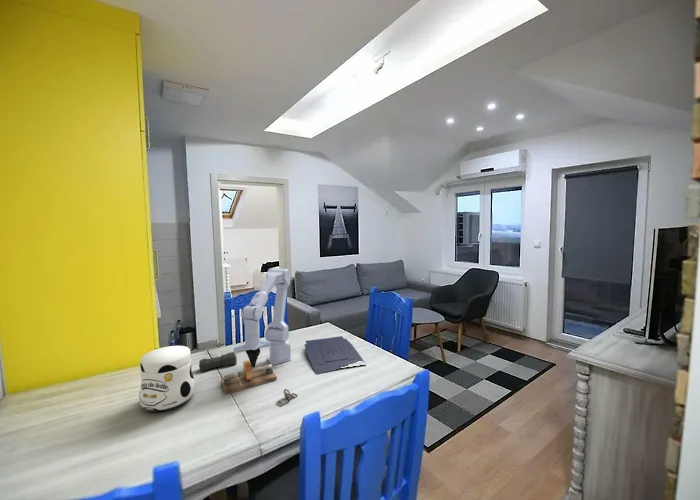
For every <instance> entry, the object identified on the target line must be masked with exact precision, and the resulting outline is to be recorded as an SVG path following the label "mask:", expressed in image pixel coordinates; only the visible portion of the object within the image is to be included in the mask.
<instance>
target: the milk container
mask: <svg viewBox="0 0 700 500" xmlns="http://www.w3.org/2000/svg"><path fill="white" fill-rule="evenodd" d="M139 363H140V364H139V365H140V380H141V382H140V388H139V391H138V400H139V404H140V406H141V408H142V409H144V410H145V411H148V412H156V413H157V412H164V411H169V410H172V409H175V408H177V407H179V406H181V405H183V404H185V403H186V402H188V401H189V400H190V399H191V397H192V396H193V395H194V392H195V387H196V381H195V377H194V374H193V371H192V353H191V349H190V348H189V347H188V346H185V345H171V346H164V347H159V348H156V349H152V350H151V351H149V352H146V353H145V354H143V355H142V356H141V358H140V362H139Z"/></svg>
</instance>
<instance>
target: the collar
mask: <svg viewBox="0 0 700 500" xmlns="http://www.w3.org/2000/svg"><path fill="white" fill-rule="evenodd" d="M242 363H243V366H242V367H243V371H245V370H246V375H245V377H246V379H247V380H249V379H252V369H253V368H252V365H251V364H250V360H244V361H243V362H242Z"/></svg>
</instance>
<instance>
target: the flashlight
mask: <svg viewBox="0 0 700 500" xmlns="http://www.w3.org/2000/svg"><path fill="white" fill-rule="evenodd" d="M237 363H238V358H237V354H234V351H231V352H228V353H226V354H221V355H220V356H216V357H211V358H209V357H208V358H206V357H205V358H203V359H200V360H199V364H198V365H199V366H198V367H199V371H200V372H207V371H208V370H210V369H214V368H218V367H225V366H231V365H236V364H237Z"/></svg>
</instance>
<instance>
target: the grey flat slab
mask: <svg viewBox="0 0 700 500" xmlns="http://www.w3.org/2000/svg"><path fill="white" fill-rule="evenodd" d="M304 349H305V353H306V354H307V357H308V360H309V361H310V363H311V366H312V369H313V370H314V372H315V374H317V375H319V374H323V373H327V372H333V370H334V371H337V370H336V369H339V368H341V367H345V366H348V365H349V364H353V363H356V362H358V361H364V359H363V357H362V356H361V355H360V353H359V352H358V351H357V349H356V348H355V346H354V345H353V344H352V343H351V341H350V340H348V339H347V338H344V337H343V336H342V335H340V336H334V337H333V336H332V337H326V338H318V339H312V340H305V343H304ZM339 370H340V369H339Z"/></svg>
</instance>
